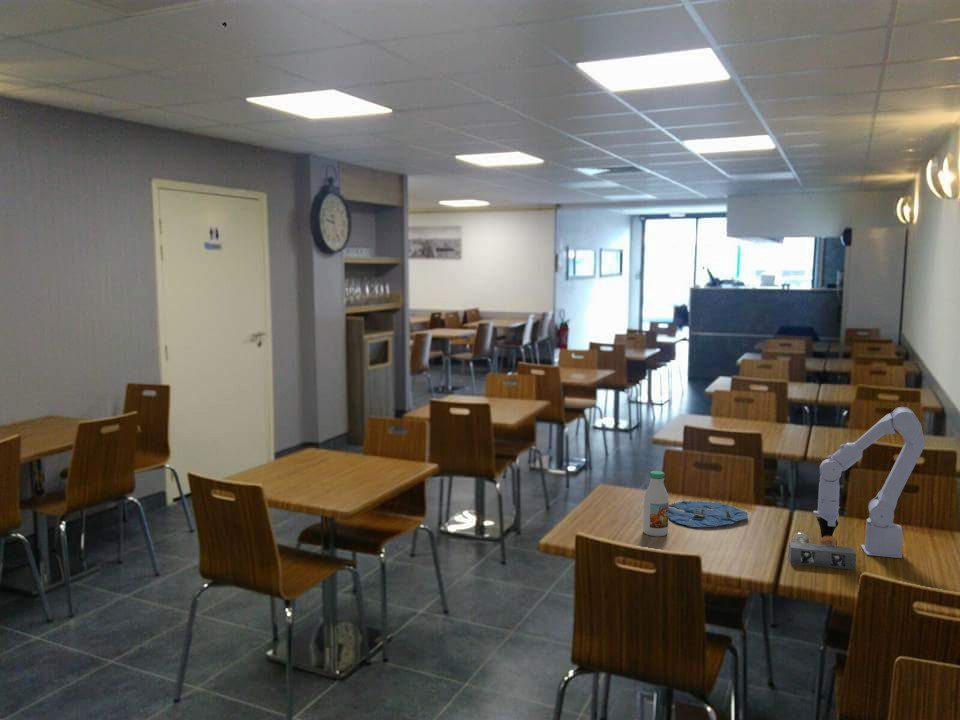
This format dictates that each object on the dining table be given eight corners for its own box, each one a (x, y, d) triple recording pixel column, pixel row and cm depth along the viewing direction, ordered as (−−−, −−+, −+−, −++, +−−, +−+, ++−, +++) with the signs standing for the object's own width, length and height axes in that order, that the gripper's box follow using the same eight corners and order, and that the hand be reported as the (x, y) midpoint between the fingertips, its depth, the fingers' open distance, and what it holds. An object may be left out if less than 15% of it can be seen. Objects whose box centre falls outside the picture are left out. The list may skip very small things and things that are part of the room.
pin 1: (792, 545, 227) (792, 531, 227) (807, 547, 226) (808, 533, 225) (798, 561, 215) (799, 547, 214) (814, 563, 213) (815, 548, 213)
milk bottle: (640, 534, 237) (641, 473, 235) (646, 527, 244) (648, 468, 242) (664, 538, 234) (666, 476, 231) (670, 531, 240) (672, 470, 238)
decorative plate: (647, 526, 250) (647, 511, 250) (671, 501, 276) (671, 487, 276) (739, 537, 236) (739, 521, 235) (755, 510, 262) (755, 496, 261)
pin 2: (820, 548, 225) (821, 534, 225) (836, 549, 224) (837, 535, 223) (828, 564, 212) (829, 549, 212) (845, 566, 211) (846, 551, 211)
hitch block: (851, 563, 214) (852, 547, 213) (855, 569, 209) (856, 553, 209) (788, 557, 219) (788, 541, 218) (790, 563, 214) (791, 547, 213)
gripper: (810, 491, 235) (808, 532, 236) (818, 504, 221) (815, 548, 222) (835, 492, 233) (832, 534, 234) (844, 506, 219) (841, 551, 221)
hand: (826, 541), depth 228 cm, fingers closed
